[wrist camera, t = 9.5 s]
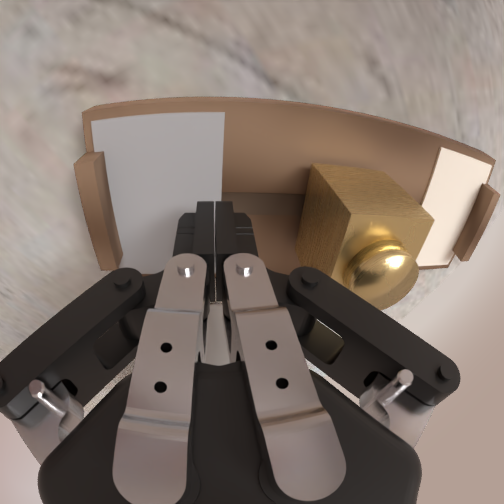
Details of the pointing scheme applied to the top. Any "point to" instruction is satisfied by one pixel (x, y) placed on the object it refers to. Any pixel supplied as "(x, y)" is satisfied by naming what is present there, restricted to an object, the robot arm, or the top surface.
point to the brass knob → (362, 232)
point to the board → (261, 174)
